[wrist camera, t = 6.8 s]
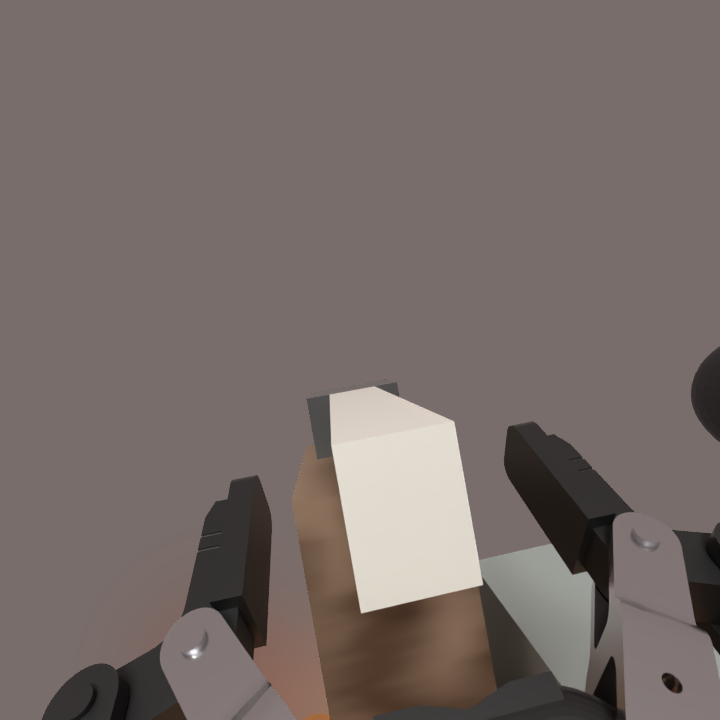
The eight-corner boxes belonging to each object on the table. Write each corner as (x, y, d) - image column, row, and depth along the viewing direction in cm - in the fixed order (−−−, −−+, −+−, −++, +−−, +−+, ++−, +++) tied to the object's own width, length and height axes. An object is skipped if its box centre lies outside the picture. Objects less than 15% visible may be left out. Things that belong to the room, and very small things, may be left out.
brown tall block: (472, 798, 30) (406, 426, 30) (566, 1081, 18) (457, 466, 18) (373, 826, 30) (306, 446, 30) (404, 1138, 18) (291, 500, 18)
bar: (394, 429, 30) (385, 379, 30) (541, 571, 9) (512, 409, 9) (319, 443, 30) (310, 393, 30) (297, 628, 9) (266, 457, 9)
